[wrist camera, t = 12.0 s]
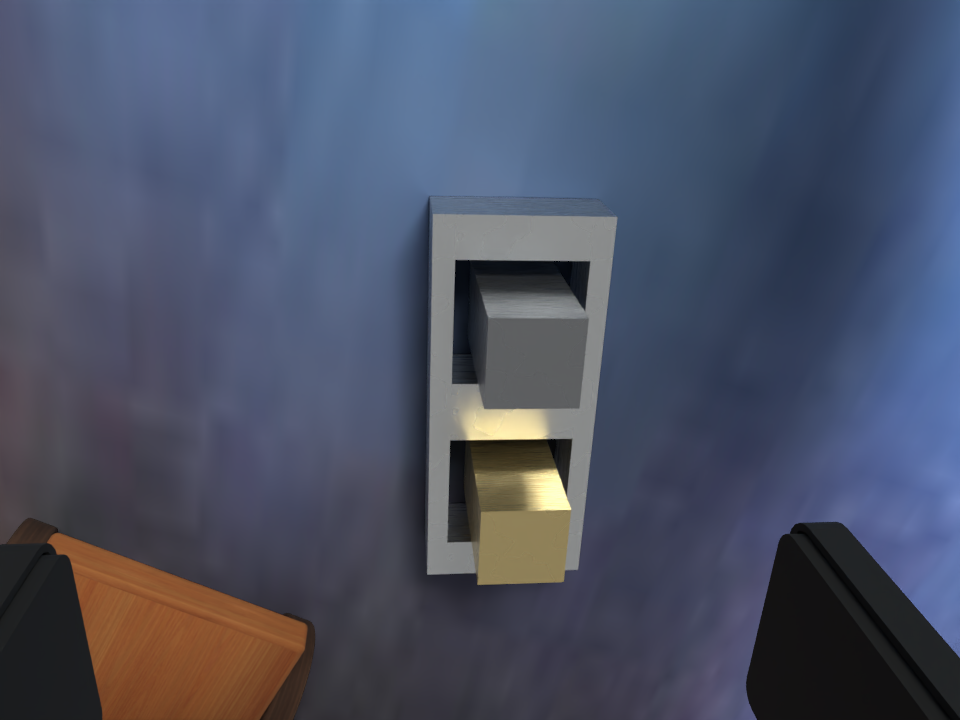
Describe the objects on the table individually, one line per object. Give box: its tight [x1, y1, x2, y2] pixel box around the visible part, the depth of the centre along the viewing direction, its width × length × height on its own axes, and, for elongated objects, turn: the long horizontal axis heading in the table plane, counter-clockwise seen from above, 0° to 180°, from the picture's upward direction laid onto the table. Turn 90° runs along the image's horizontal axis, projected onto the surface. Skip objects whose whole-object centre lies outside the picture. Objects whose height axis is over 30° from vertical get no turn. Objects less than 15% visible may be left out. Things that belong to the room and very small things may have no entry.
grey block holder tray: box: [425, 196, 617, 575], centre depth 39 cm, size 8×19×4 cm, turn 178°
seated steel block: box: [467, 260, 589, 409], centre depth 35 cm, size 4×4×8 cm
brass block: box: [464, 439, 571, 585], centre depth 39 cm, size 4×4×8 cm
